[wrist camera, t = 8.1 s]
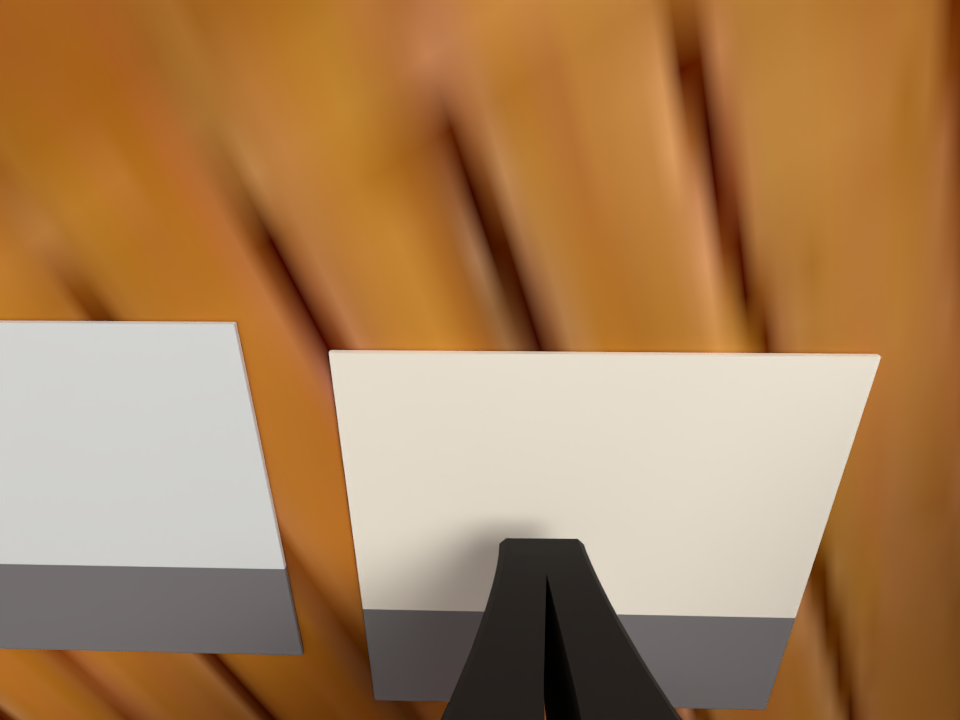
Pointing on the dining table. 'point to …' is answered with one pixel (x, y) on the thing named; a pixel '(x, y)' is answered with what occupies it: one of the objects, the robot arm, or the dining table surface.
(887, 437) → the dining table surface
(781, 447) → the cream label card
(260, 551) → the grey-blue label card
